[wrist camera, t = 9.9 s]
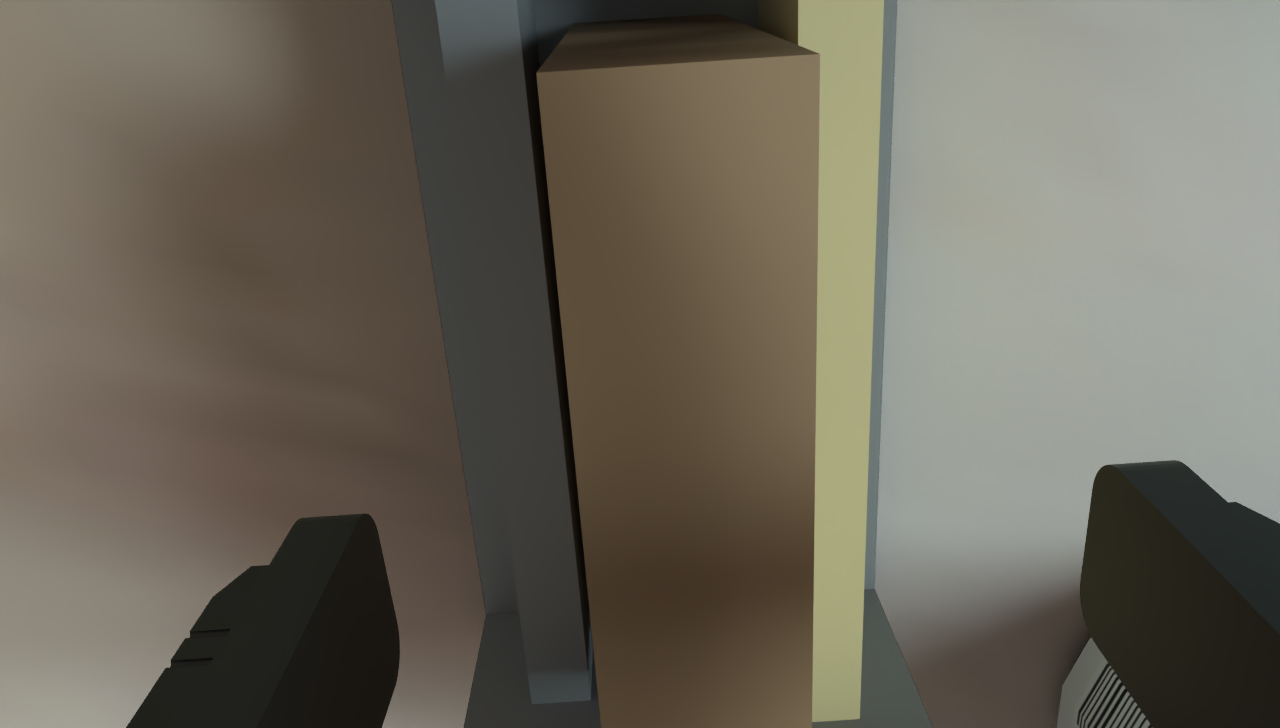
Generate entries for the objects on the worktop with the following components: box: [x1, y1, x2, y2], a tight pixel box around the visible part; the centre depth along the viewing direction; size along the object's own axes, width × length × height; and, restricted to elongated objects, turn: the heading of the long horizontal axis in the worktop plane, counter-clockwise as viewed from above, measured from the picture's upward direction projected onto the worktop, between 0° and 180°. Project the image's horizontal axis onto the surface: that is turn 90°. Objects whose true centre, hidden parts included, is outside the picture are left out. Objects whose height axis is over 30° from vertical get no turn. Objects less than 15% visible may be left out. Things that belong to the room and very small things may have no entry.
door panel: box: [536, 14, 820, 728], centre depth 15 cm, size 3×12×9 cm, turn 4°
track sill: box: [391, 0, 933, 728], centre depth 15 cm, size 9×18×10 cm, turn 4°
